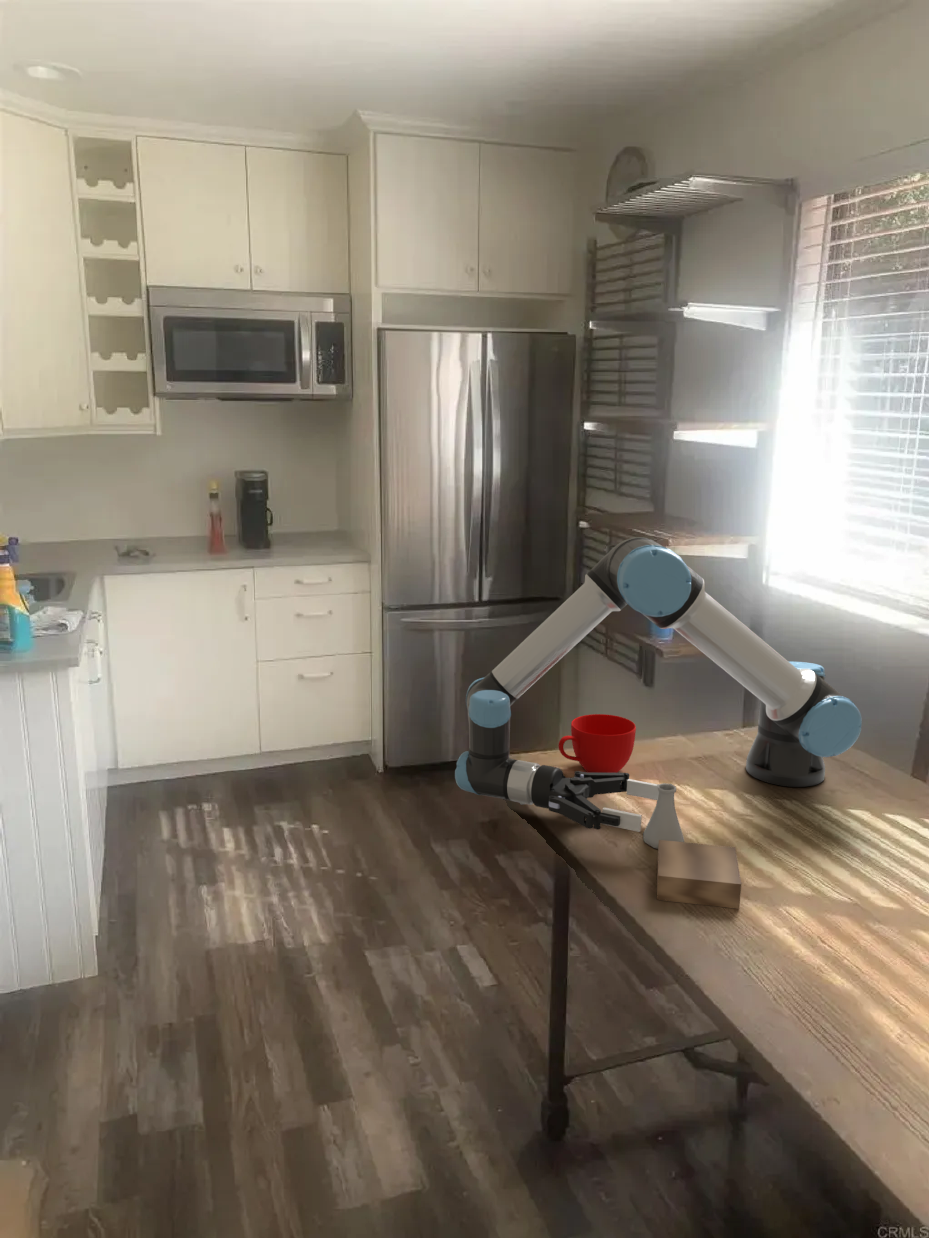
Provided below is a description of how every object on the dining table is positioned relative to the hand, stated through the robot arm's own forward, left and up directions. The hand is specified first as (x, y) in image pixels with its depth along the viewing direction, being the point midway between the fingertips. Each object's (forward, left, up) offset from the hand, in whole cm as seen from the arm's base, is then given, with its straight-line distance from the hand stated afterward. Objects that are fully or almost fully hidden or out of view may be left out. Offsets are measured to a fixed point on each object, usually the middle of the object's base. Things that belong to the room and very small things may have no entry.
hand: (652, 807), depth 157 cm
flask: (-2, 0, -6) cm, 6 cm away
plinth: (-7, +14, -6) cm, 17 cm away
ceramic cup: (+12, -28, -6) cm, 31 cm away
